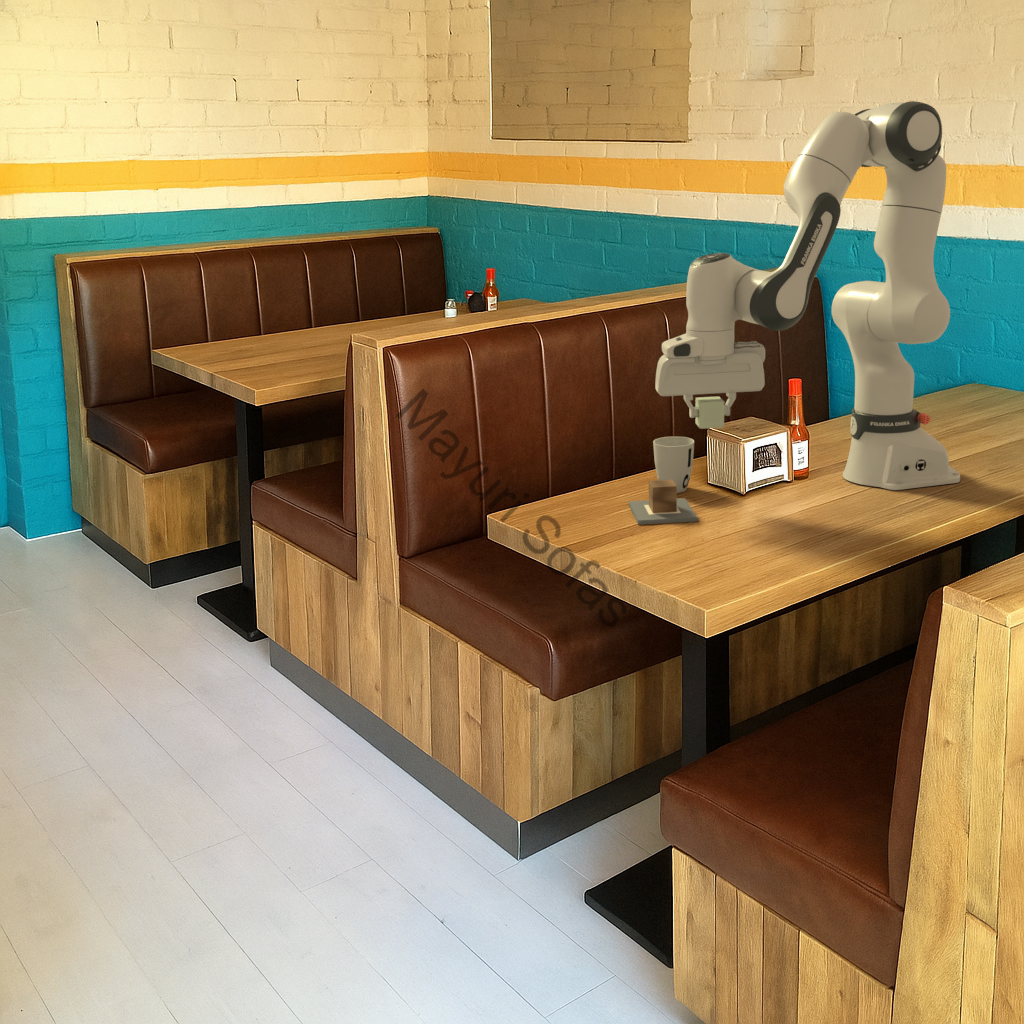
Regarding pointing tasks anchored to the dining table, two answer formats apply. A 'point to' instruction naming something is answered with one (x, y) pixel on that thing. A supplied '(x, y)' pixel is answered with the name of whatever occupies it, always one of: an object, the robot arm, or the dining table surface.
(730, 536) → the dining table surface
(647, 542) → the dining table surface
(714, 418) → the sage block
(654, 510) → the walnut block
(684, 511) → the grey flat square plate
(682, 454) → the cup
